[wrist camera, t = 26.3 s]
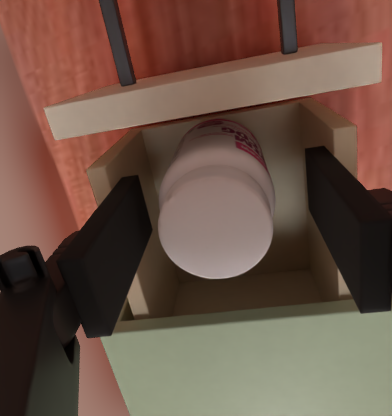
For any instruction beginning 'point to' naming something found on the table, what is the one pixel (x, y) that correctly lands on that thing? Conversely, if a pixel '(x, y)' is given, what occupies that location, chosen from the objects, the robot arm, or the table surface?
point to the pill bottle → (217, 201)
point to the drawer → (269, 143)
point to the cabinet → (255, 362)
